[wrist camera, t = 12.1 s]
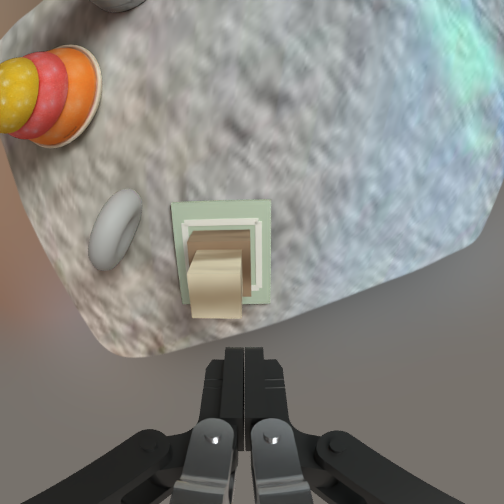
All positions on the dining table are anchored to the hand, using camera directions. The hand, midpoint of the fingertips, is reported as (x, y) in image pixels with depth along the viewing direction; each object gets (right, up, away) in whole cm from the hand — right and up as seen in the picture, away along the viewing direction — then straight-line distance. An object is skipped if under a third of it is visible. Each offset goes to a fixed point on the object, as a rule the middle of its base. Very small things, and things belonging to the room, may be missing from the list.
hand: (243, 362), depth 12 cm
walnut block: (-3, +4, +27) cm, 27 cm away
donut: (-15, +9, +26) cm, 31 cm away
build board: (-3, +4, +27) cm, 28 cm away
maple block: (-3, +2, +23) cm, 23 cm away
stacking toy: (-25, +25, +19) cm, 40 cm away
